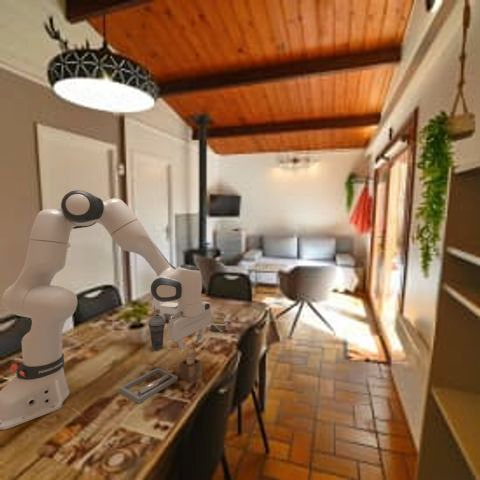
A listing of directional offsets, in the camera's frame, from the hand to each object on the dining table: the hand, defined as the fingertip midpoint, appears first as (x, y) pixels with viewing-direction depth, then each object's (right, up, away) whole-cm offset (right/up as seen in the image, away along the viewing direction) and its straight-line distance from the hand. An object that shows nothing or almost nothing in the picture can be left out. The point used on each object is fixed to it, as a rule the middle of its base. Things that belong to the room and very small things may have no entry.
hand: (190, 343), depth 118 cm
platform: (+7, -9, +45) cm, 47 cm away
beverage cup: (-19, -11, +25) cm, 33 cm away
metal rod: (-12, -13, -7) cm, 19 cm away
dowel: (0, -13, 0) cm, 13 cm away
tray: (-14, -14, -6) cm, 20 cm away
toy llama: (-21, -7, +58) cm, 62 cm away
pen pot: (0, -13, 0) cm, 13 cm away
